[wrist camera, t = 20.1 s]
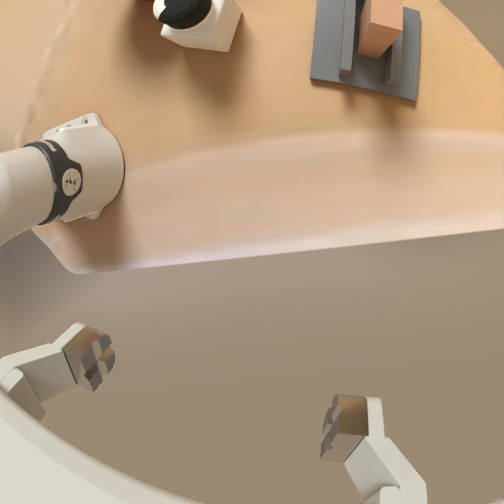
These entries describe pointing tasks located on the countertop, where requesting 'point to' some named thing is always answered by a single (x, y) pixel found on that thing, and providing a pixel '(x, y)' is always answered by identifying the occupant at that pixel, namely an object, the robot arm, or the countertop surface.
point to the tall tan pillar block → (379, 26)
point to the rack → (361, 66)
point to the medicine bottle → (199, 22)
